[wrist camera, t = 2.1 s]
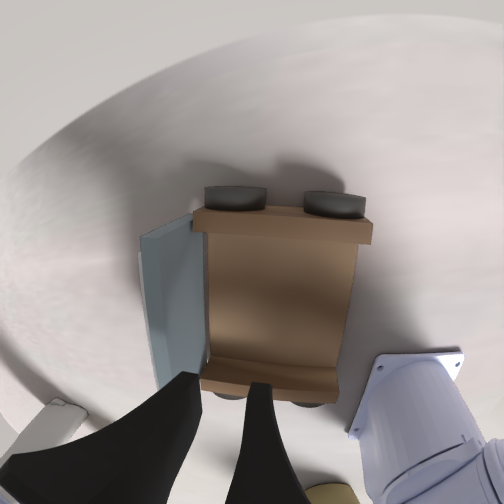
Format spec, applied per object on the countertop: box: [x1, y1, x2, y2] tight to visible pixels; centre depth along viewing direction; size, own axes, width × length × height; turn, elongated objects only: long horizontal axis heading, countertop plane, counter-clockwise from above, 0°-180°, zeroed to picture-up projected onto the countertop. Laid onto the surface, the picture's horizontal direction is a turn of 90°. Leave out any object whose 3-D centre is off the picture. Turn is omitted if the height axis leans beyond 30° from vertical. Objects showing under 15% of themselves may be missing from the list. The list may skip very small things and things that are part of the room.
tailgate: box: [138, 214, 207, 392], centre depth 15 cm, size 10×1×6 cm, turn 178°
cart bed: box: [193, 186, 373, 408], centre depth 16 cm, size 13×8×4 cm, turn 178°
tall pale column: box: [0, 398, 88, 504], centre depth 16 cm, size 11×4×22 cm, turn 112°
